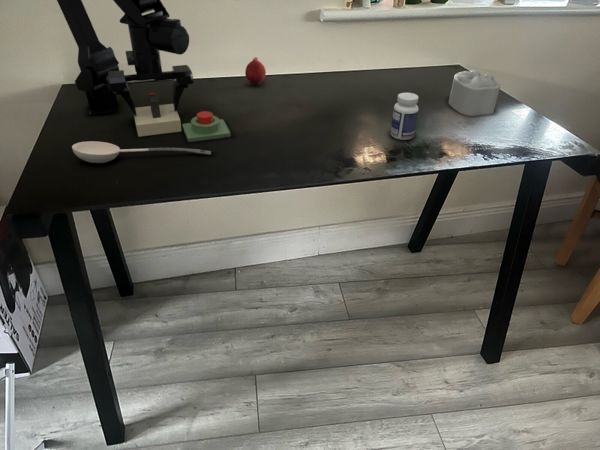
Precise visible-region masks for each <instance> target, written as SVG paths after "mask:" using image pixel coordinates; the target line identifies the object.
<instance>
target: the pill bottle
mask: <svg viewBox="0 0 600 450" xmlns="http://www.w3.org/2000/svg"><path fill="white" fill-rule="evenodd" d="M396 101H397V102H396V103H395V104H394V106H393V111H392V117H391V126H390V131H389V133H390V136H391V137H392V138H393V139H396V140H401V141H408V140H412V139H413V138H414V136H415V132H416V126H417V121H418V115H419V106H418V105H417V104H418V103H419V96H418V95H417V94H416V93H413V92H400V93H399V94H397V99H396Z"/></svg>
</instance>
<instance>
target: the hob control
mask: <svg viewBox="0 0 600 450" xmlns="http://www.w3.org/2000/svg"><path fill="white" fill-rule="evenodd" d="M159 108H160V114H161V117H159V118H153V116H152V112H151V107H150V105H149V106H139V107H135V109H136V114H137V116H135V115H134V114H133V118H134V123H135V128H136V132H137V137H138V138H140V137H147V136H155V135H162V134H171V133H179V132H182V130H183V129H182V123H181V122H182V121H181V118H180V116H179V113H178V110H177V111H174V105H173V103H166V104H159Z"/></svg>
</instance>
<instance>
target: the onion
mask: <svg viewBox="0 0 600 450" xmlns="http://www.w3.org/2000/svg"><path fill="white" fill-rule="evenodd" d="M244 71H245V72H244V74H245V78H246V79H247V81H248V82H249V83H251V84H252V85H253V86H258V85H259V84H261V83H262V82H263V81H264V80H265V78H266V72H267V71H266V68H265V65H264V64H263V63H262V62H261V61H259V60H258V57H257V56H254V57H253V59H252V60H251V61H250V62H249V63H247V64H246V67H245V70H244Z"/></svg>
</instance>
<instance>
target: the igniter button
mask: <svg viewBox="0 0 600 450" xmlns="http://www.w3.org/2000/svg"><path fill="white" fill-rule="evenodd" d="M213 115H214V114H213V112H211V111H208V110H207V111H205V110H203V111H200V112H197V114H196V116H197V121H198V123H199V124H204V125H205V124H210V123H213Z"/></svg>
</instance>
